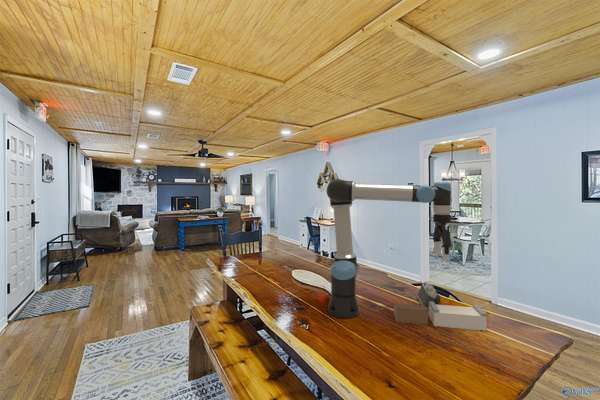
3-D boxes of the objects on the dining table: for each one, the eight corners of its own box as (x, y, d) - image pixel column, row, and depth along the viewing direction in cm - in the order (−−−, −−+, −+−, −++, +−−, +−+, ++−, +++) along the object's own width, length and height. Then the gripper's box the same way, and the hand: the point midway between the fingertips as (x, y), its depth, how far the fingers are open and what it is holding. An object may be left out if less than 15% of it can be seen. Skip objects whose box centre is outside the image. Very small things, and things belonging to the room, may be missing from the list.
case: (396, 322, 119) (396, 308, 119) (394, 316, 125) (394, 303, 125) (427, 325, 116) (427, 311, 116) (424, 319, 122) (424, 305, 122)
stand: (434, 326, 115) (434, 309, 115) (429, 316, 124) (429, 301, 124) (486, 331, 111) (486, 313, 111) (477, 321, 120) (477, 305, 119)
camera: (421, 307, 132) (430, 289, 130) (414, 293, 147) (423, 277, 146) (439, 316, 130) (449, 298, 129) (431, 301, 146) (439, 285, 144)
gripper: (460, 216, 117) (459, 264, 117) (442, 212, 141) (441, 252, 142) (441, 216, 118) (440, 263, 119) (427, 212, 143) (426, 251, 143)
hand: (441, 257), depth 130 cm, fingers open, 13 cm apart
